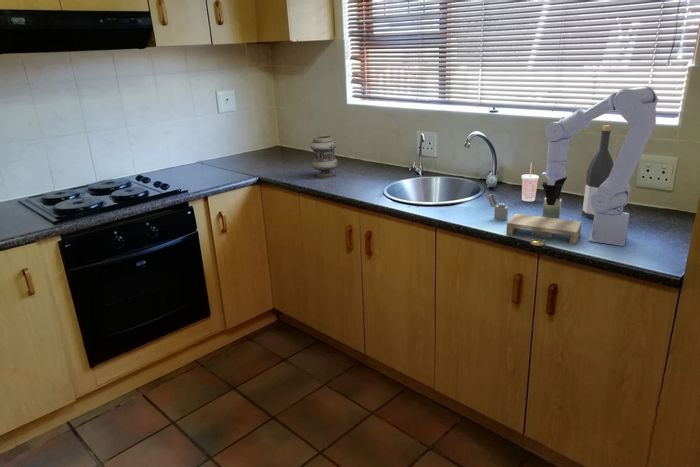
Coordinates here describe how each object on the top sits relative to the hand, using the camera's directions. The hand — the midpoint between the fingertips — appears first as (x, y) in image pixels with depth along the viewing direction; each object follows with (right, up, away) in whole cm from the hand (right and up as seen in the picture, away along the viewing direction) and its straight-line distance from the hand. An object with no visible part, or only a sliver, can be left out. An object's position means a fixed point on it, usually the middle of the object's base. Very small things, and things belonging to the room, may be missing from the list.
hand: (552, 201), depth 171 cm
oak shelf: (-6, -11, -8) cm, 14 cm away
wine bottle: (+17, -4, +7) cm, 19 cm away
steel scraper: (-3, -9, -3) cm, 10 cm away
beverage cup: (+1, +2, +26) cm, 27 cm away
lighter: (-16, -5, +9) cm, 19 cm away
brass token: (-10, -13, -14) cm, 22 cm away
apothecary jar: (-77, +16, +74) cm, 108 cm away
